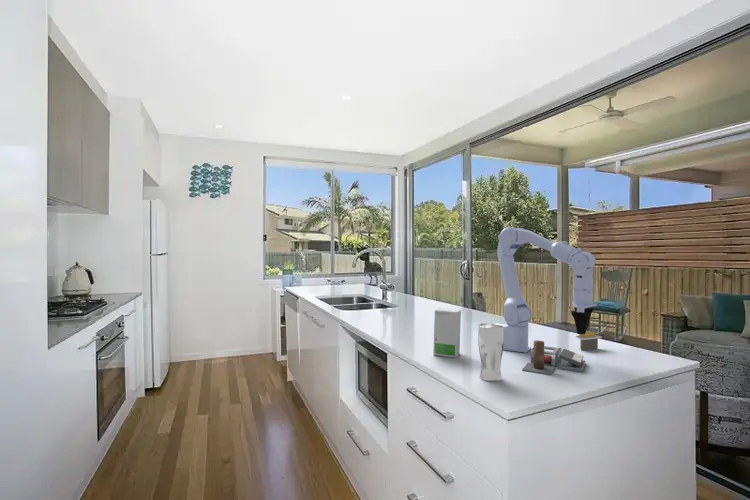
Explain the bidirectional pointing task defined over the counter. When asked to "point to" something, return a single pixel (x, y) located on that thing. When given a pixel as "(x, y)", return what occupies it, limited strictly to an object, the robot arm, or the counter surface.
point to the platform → (588, 340)
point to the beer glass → (491, 351)
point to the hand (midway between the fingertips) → (582, 331)
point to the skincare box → (447, 332)
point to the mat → (546, 370)
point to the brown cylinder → (539, 354)
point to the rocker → (571, 357)
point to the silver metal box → (559, 360)
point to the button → (547, 358)
